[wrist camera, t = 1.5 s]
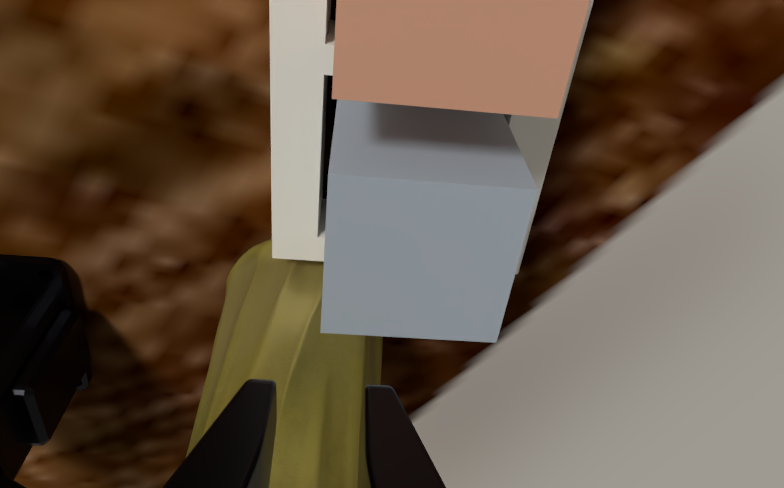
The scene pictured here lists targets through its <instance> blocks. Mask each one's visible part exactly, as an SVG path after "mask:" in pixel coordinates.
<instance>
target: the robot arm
mask: <svg viewBox="0 0 784 488" xmlns="http://www.w3.org/2000/svg"><path fill="white" fill-rule="evenodd" d="M45 270H48V271H50V272H51V273H52V274H49V273H47V272H46V271H45ZM90 362H91V355H90V351H89V347H88V343H87V339H86V334H85V330H84V326H83V322H82V318H81V315H80V314H79V312H78V311H77V310H76V309H75V306H74V302H73V298H72V294H71V290H70V286H69V282H68V278H67V274H66V270H65V268H64V266H63V265H62V264H61V263H60V262H59V261H57V260H55V259H53V258H48V257H32V256H16V255H1V254H0V488H26V487H24V486H22V485H21V484H19V483H17V482H16V481H14V479H15V477H16V475H17V473H18V472H19V470H20V468H21V466H22V464H23V462H24V461H25V459H26V457H27V455H28V453H29V451H30V450H31V448H32V446H33V445H41V446H42V445H44V444H45V443H46V442H47V441H49V440H50V439H51V437H52V435H53V433H54V431H55V429H56V427H57V425H58V423H59V421H60V420H61V418H62V416H63V414H64V412H65V410H66V408H67V406H68V404H69V402H70V400H71V398H72V397H73V395H74V393H75V391H76V390H84V389H86V388H87V387H88V385H89V383H90V381H91V379H92V373H91V369H90V365H89V364H90ZM276 421H277V392H276V383H275V381H273V380H268V379H249V380H247V381H246V382H245V383H244V384H243V385H242V387H241V388H240V389H239V390H238V392H237V393H236V394H235V395H234V397H233V398H232V399H231V401H230V402H229V403H228V404H227V406H226V407H225V408H224V410H223V411H222V412H221V413H220V415H219V416H218V417H217V419H216V420H215V421H214V422H213V424H212V425H211V426H210V428H209V429H208V430H207V431H206V433H205V434H204V435H203V436H202V438H201V439H200V440H199V442H198V443H197V444H196V445H195V447H194V448H193V449H192V451H191V452H190V453H189V454H188V456H187V457H186V458H185V460H184V461H183V462H182V463H181V465H180V466H179V467H178V469H177V470H176V471H175V472H174V474H173V475H172V476H171V477H170V479H169V480H168V481H167V483H166V484H165V485H164V486H163V488H269V483H270V474H271V466H272V458H273V450H274V441H275V433H276ZM357 488H446V487H445V485H444V483H443V481H442V479H441V477H440V476H439V473H438V472H437V470H436V468H435V466H434V464H433V462H432V460H431V459H430V457H429V455H428V453H427V451H426V449H425V447H424V445H423V443H422V441H421V439H420V438H419V436H418V434H417V432H416V430H415V428H414V426H413V424H412V422H411V420H410V419H409V417H408V415H407V413H406V411H405V409H404V407H403V405H402V403H401V402H400V400H399V398H398V396H397V394H396V392H395V390H394V389H393V388H392V387H391V386H388V385H367V386H366V387H365V388H364V393H363V402H362V411H361V420H360V432H359V456H358V481H357Z"/></svg>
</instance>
